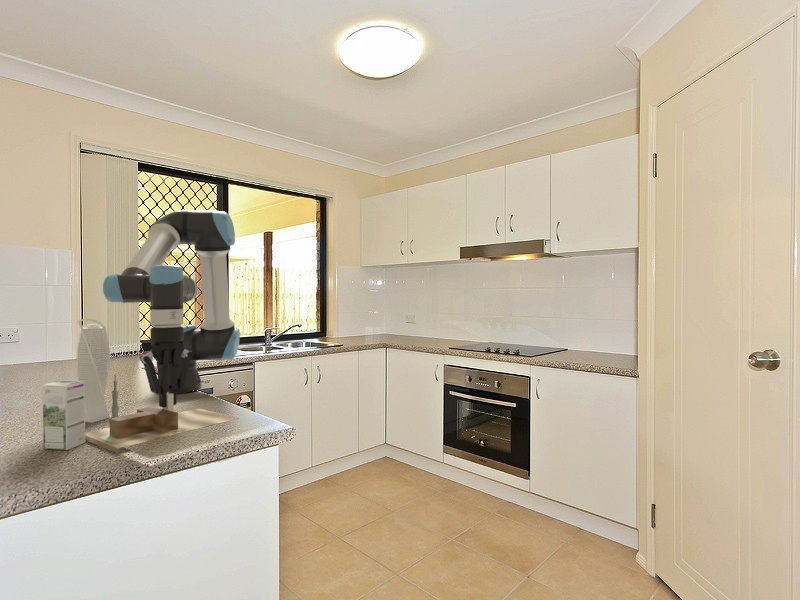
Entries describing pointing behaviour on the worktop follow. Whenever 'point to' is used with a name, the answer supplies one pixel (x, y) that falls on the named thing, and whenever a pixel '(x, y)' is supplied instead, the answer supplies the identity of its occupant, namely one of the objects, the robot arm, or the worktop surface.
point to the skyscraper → (95, 371)
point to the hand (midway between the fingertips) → (168, 418)
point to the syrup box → (63, 415)
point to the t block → (144, 422)
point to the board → (185, 423)
